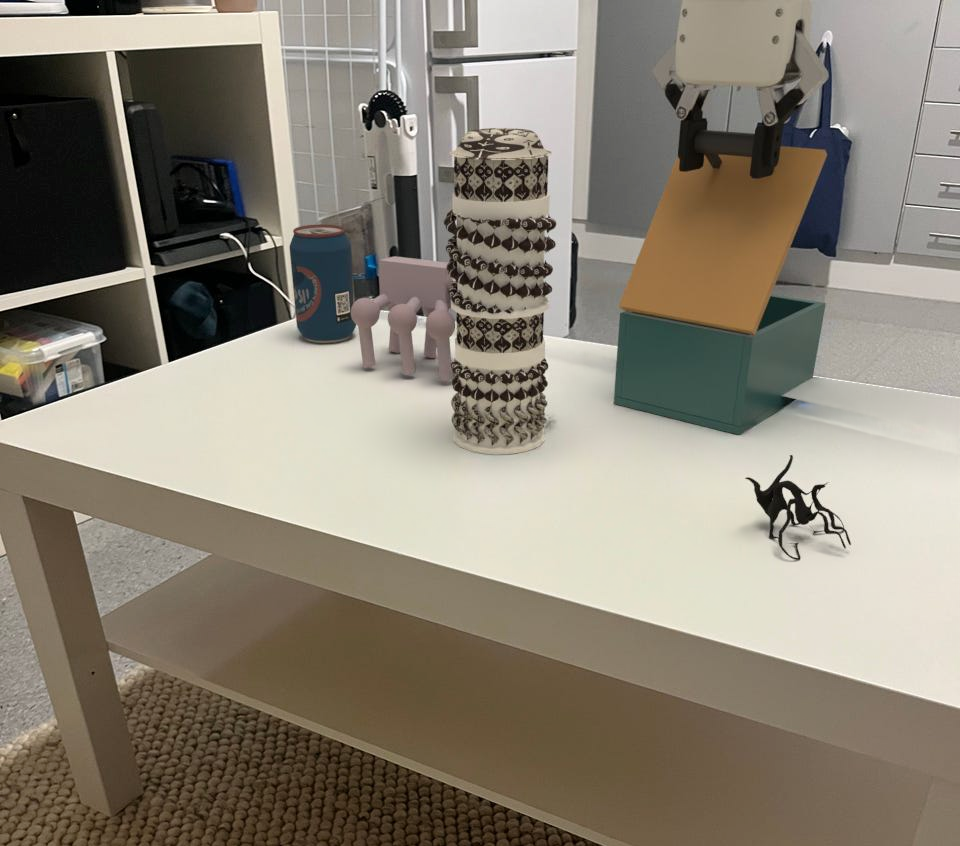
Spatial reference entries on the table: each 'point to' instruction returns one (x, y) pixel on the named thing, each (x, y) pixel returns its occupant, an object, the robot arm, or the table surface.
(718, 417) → the teal open box
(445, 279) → the pink pegged block
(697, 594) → the table surface
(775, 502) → the creature
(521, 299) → the decorative candle
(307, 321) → the soda can
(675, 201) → the lid
